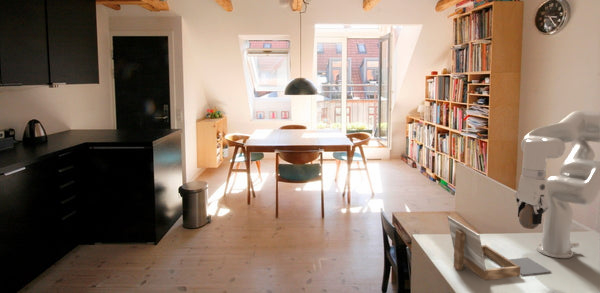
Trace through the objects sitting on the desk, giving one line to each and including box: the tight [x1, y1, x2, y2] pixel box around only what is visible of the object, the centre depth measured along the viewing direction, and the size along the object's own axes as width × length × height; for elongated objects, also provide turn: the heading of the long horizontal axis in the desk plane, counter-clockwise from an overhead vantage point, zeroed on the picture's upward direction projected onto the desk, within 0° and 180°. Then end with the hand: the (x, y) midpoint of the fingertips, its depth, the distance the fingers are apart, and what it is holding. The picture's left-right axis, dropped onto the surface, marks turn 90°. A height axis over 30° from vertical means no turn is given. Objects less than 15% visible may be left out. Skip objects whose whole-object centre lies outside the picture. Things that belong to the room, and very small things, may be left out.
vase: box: [518, 204, 540, 230], centre depth 155 cm, size 7×7×9 cm
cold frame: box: [446, 215, 521, 281], centre depth 158 cm, size 19×20×17 cm
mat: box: [508, 257, 552, 277], centre depth 158 cm, size 12×12×1 cm
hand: (529, 219), depth 155 cm, fingers closed on vase, 6 cm apart
